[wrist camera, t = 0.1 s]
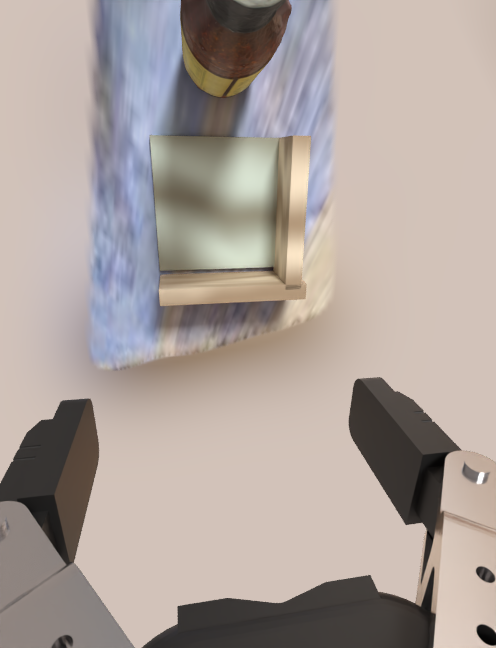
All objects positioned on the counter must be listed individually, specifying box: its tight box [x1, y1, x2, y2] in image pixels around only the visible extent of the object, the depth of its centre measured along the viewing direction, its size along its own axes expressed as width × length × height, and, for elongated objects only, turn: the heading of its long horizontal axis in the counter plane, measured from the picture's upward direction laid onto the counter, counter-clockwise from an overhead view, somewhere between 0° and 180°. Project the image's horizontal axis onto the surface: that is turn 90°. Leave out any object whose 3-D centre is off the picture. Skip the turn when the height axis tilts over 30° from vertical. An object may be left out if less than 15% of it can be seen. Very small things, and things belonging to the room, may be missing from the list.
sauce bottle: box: [180, 0, 292, 98], centre depth 24 cm, size 7×6×20 cm
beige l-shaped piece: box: [150, 135, 311, 306], centre depth 36 cm, size 14×14×5 cm
